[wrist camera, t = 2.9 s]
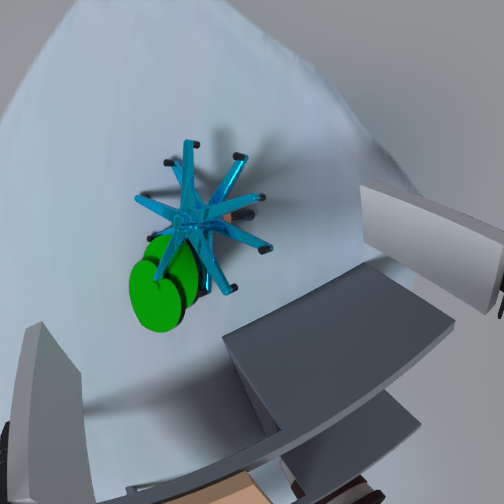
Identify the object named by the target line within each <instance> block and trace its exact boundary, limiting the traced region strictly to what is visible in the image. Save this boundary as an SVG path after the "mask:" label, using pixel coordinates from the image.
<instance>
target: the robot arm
mask: <svg viewBox="0 0 504 504" xmlns="http://www.w3.org/2000/svg"><path fill="white" fill-rule="evenodd" d="M360 194H361V206H362V220H363V236H364V243H366V244H368V245H370V246H372V247H373V248H375V249H377V250H379V251H380V252H382V253H384V254H386V255H387V256H389V257H391V258H393V259H394V260H396V261H398V262H400V263H401V264H403V265H405V266H406V267H408V268H410V269H411V270H413V271H415V272H417V273H418V274H420V275H422V276H423V277H425V278H427V279H428V280H430V281H432V282H433V283H435V284H436V285H438V286H440V287H441V288H443V289H445V290H446V291H448V292H449V293H451V294H453V295H454V296H456V297H457V298H459V299H461V300H462V301H464V302H465V303H467V304H468V305H470V306H471V307H473V308H475V309H476V310H478V311H479V312H481V313H482V314H484V315H486V314H487V313H488V312H489V311H490V310H491V309H492V307H493V306H494V305H495V304H496V300H497V297H498V293H499V290H501V291H502V292H504V231H501V230H500V229H497V228H495V227H493V226H491V225H489V224H486V223H484V222H482V221H479V220H477V219H475V218H473V217H470V216H468V215H466V214H463V213H461V212H458V211H455V210H453V209H451V208H448V207H446V206H443V205H441V204H438V203H436V202H433V201H430V200H428V199H425V198H423V197H420V196H417V195H415V194H412V193H409V192H407V191H404V190H401V189H398V188H395V187H392V186H390V185H387V184H384V183H381V182H378V181H375V180H370V181H368V182H365V183H363V184H360ZM503 311H504V296H503V299H502V303H501V306H500V309H499V312H498V319H501V317H502V314H503ZM0 504H96V501H95V496H94V491H93V485H92V480H91V474H90V467H89V461H88V454H87V446H86V437H85V428H84V417H83V403H82V385H81V373H80V372H79V370H78V369H77V368H76V367H75V365H74V364H73V363H72V362H71V360H70V359H69V358H68V356H67V355H66V354H65V353H64V351H63V350H62V349H61V347H60V346H59V345H58V343H57V342H56V341H55V339H54V338H53V336H52V335H51V334H50V332H49V331H48V329H47V328H46V326H45V325H44V324H43V322H42V321H41V322H39V323H37V324H35V325H33V326H31V327H28V328H26V331H25V335H24V339H23V344H22V349H21V353H20V358H19V363H18V369H17V374H16V380H15V386H14V393H13V400H12V408H11V417H10V421H8V422H6V423H5V426H4V428H3V431H2V434H1V436H0Z"/></svg>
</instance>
